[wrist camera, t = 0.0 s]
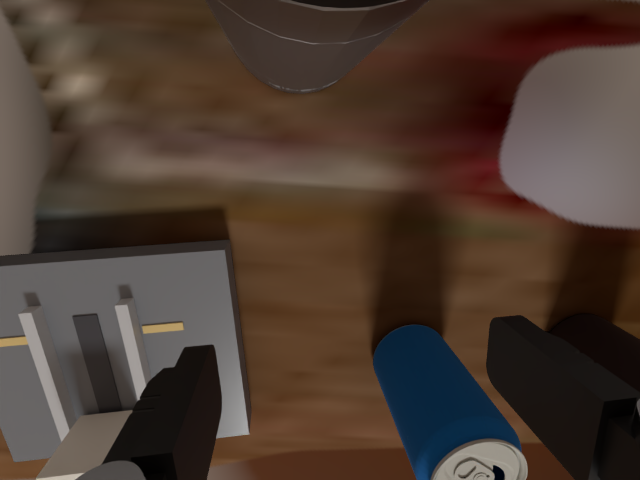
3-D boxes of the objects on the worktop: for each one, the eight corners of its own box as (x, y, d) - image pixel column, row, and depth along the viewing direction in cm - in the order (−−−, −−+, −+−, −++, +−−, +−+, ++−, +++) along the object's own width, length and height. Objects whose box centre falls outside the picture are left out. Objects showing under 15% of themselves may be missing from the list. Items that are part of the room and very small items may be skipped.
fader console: (-31, 258, 25) (-78, 277, 21) (229, 239, 26) (222, 254, 23) (35, 436, 29) (4, 474, 26) (251, 412, 31) (247, 444, 28)
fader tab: (80, 415, 26) (35, 478, 21) (136, 409, 26) (104, 470, 22) (89, 446, 27) (49, 514, 22) (143, 440, 27) (114, 505, 23)
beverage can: (408, 394, 32) (477, 537, 21) (355, 360, 31) (399, 496, 19) (456, 344, 31) (557, 466, 20) (404, 306, 30) (482, 416, 18)
